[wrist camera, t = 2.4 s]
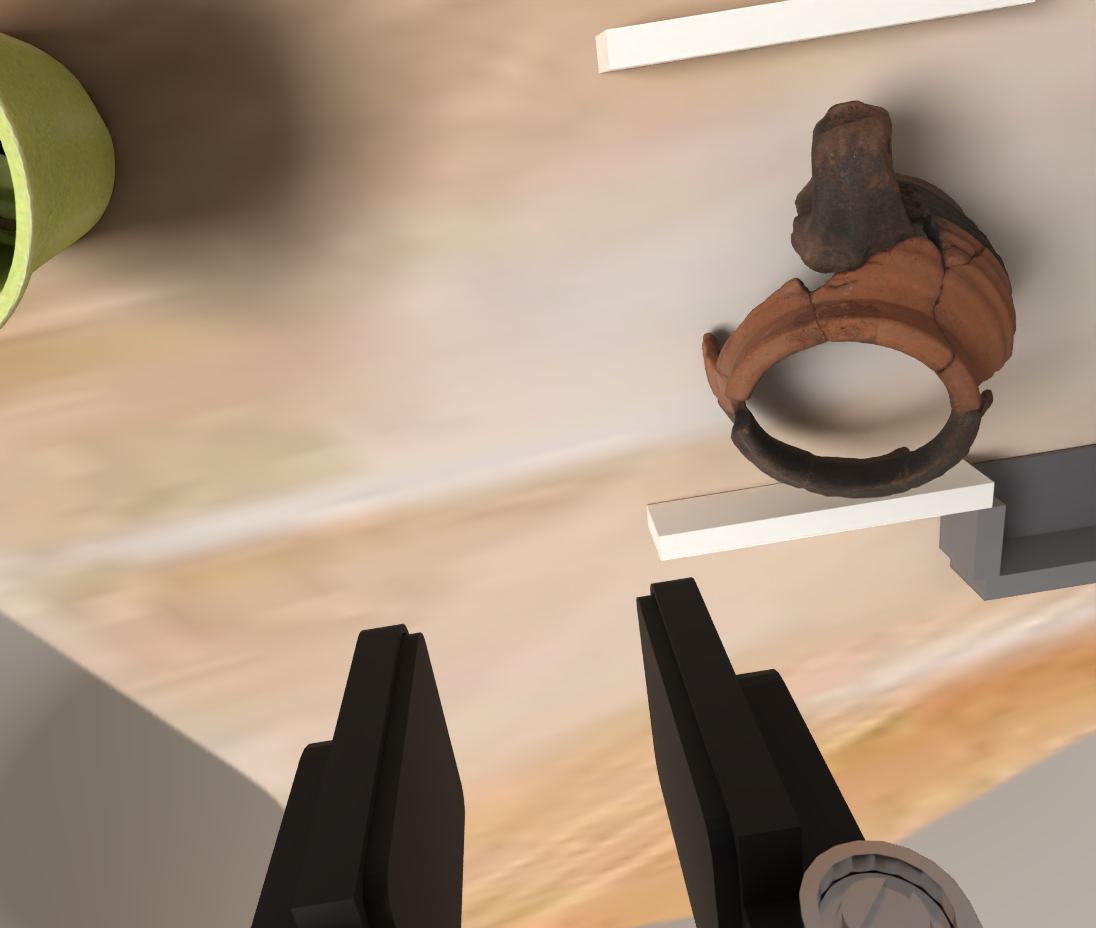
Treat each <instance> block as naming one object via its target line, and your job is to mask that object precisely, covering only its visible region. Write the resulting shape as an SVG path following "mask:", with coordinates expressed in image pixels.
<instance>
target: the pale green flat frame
mask: <svg viewBox="0 0 1096 928" xmlns="http://www.w3.org/2000/svg"><path fill="white" fill-rule="evenodd" d="M1031 2H1035V0H789V1H783V2H776V3H770V4H764V5H758V6H752V7H745V8H739V9H733V10H727V11H720V12H714V13H708V14H702V15H696V16H689V17H683V18H677V19H671V20H664V21H658V22H652V23H646V24H639V25H633V26H627V27H621V28H615V29H608V30H605V31H604V32H602V33H601V34H599V35H598V36H596V37H595V39H596V48H597V57H598V66H599V73H605V72H611V71H617V70H624V69H630V68H636V67H642V66H648V65H655V64H661V63H667V62H673V61H680V60H686V59H692V58H698V57H704V56H711V55H717V54H723V53H729V52H736V51H742V50H748V49H754V48H760V47H767V46H773V45H779V44H785V43H792V42H798V41H804V40H810V39H816V38H823V37H829V36H835V35H841V34H848V33H854V32H860V31H866V30H872V29H879V28H885V27H891V26H897V25H904V24H910V23H916V22H922V21H928V20H935V19H941V18H947V17H953V16H960V15H966V14H972V13H978V12H984V11H990V10H995V9H1000V8H1005V7H1010V6H1016V5H1021V4H1026V3H1031ZM646 506H647V515H648V524H649V529H650V532H651V535H652V537H653V540H654V543H655V545H656V548H657V551H658V553H659V556H660V558H661V561H664V560H670V559H676V558H682V557H688V556H695V555H701V554H707V553H713V552H719V551H726V550H732V549H738V548H744V547H750V546H757V545H763V544H769V543H775V542H781V541H788V540H794V539H800V538H806V537H812V536H819V535H825V534H831V533H837V532H843V531H850V530H856V529H862V528H868V527H874V526H881V525H887V524H893V523H899V522H905V521H912V520H918V519H924V518H930V517H936V516H941V526H940V543H939V548H940V549H941V550H942V551H943V552H944V553H945V554H946V555H947V556H948V557H949V558H950V559H951V563H950V567H951V568H952V569H953V570H954V571H955V572H956V573H957V574H958V575H959V576H960V577H961V578H962V579H963V580H964V581H965V582H966V583H967V584H968V585H969V586H970V587H971V588H972V589H973V590H974V591H975V592H976V593H977V594H978V595H979V596H980V597H981V598H982V599H983V600H984V601H986V600H992V599H999V598H1005V597H1011V596H1017V595H1023V594H1030V593H1036V592H1042V591H1048V590H1054V589H1061V588H1067V587H1073V586H1079V585H1085V584H1092V583H1096V444H1095V445H1089V446H1082V447H1076V448H1070V449H1064V450H1058V451H1051V452H1045V453H1039V454H1033V455H1027V456H1020V457H1014V458H1008V459H1002V460H996V461H989V462H983V463H977V464H971V465H970V464H969V463H967V462H966V461H965V460H963V459H962V460H961V461H960V462H959V463H958V464H957V465H955V466H954V467H953V468H951V469H950V470H948V471H947V472H945V474H944V475H942V476H940V477H938V478H936V479H933V480H932V481H930V482H928V483H926V484H924V485H922V486H920V487H917V488H911V489H910V490H909V491H907V492H904V493H899V494H893V495H891V496H885V497H878V498H858V499H852V498H843V497H826V496H824V495H820V494H816V493H812V492H809V491H807V490H806V489H804V488H795V487H793V486H790V485H787V484H784V483H780V484H774V485H768V486H762V487H756V488H749V489H743V490H737V491H731V492H725V493H718V494H712V495H706V496H700V497H694V498H688V499H681V500H675V501H669V502H663V503H657V504H650V505H646Z"/></svg>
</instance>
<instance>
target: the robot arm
mask: <svg viewBox="0 0 1096 928" xmlns="http://www.w3.org/2000/svg"><path fill="white" fill-rule="evenodd" d="M650 592H651V595H649V596H643V597H637V599H636V601H637V612H638V620H639V628H640V636H641V645H642V653H643V661H644V669H645V677H646V686H647V694H648V702H649V710H650V719H651V727H652V735H653V743H654V751H655V759H656V765H657V770H658V775H659V780H660V784H661V789H662V792H663V796H664V800H665V804H666V808H667V812H668V816H669V820H670V824H671V828H672V832H673V836H674V840H675V844H676V848H677V852H678V856H679V860H680V864H681V868H682V872H683V876H684V880H685V884H686V888H687V891H688V895H689V899H690V903H691V907H692V911H693V915H694V919H695V923H696V927H697V928H983V927H982V925H981V923H980V921H979V919H978V917H977V915H976V913H975V911H974V909H973V907H972V905H971V903H970V901H969V900H968V899H967V897H966V896H965V894H964V893H963V891H962V890H961V888H960V887H959V886H958V884H957V883H956V881H955V880H954V879H953V878H952V877H951V876H950V875H949V874H947V873H946V872H945V871H944V870H943V869H942V868H940V867H939V866H938V865H937V864H936V863H935V862H933V861H932V860H930V859H928V858H926V857H924V856H922V855H920V854H918V853H917V852H915V851H913V850H911V849H909V848H905V847H901V846H898V845H895V844H891V843H887V842H884V841H865V839H864V837H863V835H862V833H861V831H860V829H859V827H858V825H857V823H856V821H855V819H854V817H853V815H852V813H851V811H850V809H849V807H848V805H847V803H846V802H845V800H844V798H843V796H842V794H841V792H840V790H839V788H838V786H837V784H836V782H835V780H834V778H833V776H832V774H831V772H830V770H829V768H828V766H827V764H826V763H825V761H824V759H823V757H822V755H821V753H820V751H819V749H818V747H817V745H816V743H815V741H814V739H813V737H812V735H811V733H810V731H809V729H808V727H807V725H806V724H805V722H804V720H803V718H802V716H801V714H800V712H799V710H798V708H797V706H796V704H795V702H794V700H793V698H792V696H791V694H790V692H789V690H788V688H787V687H786V685H785V683H784V681H783V679H782V677H781V676H780V674H779V673H778V672H777V671H776V670H775V669H770V670H764V671H758V672H752V673H745V674H739V675H736V674H735V672H734V670H733V667H732V665H731V663H730V660H729V658H728V656H727V654H726V651H725V649H724V647H723V644H722V642H721V640H720V637H719V635H718V633H717V630H716V628H715V626H714V624H713V621H712V619H711V617H710V614H709V612H708V610H707V607H706V605H705V603H704V601H703V598H702V596H701V594H700V591H699V589H698V587H697V584H696V582H695V580H694V579H693V578H692V577H690V578H684V579H678V580H672V581H666V582H659V583H653V584H651V586H650ZM464 826H465V806H464V796H463V790H462V785H461V781H460V777H459V773H458V769H457V765H456V761H455V757H454V753H453V749H452V745H451V741H450V737H449V733H448V729H447V725H446V721H445V718H444V714H443V710H442V706H441V702H440V698H439V694H438V690H437V686H436V682H435V678H434V674H433V670H432V666H431V662H430V658H429V654H428V650H427V646H426V642H425V639H424V636H423V634H422V633H421V632H420V633H414V634H409V632H408V630H407V628H406V626H405V625H404V624H399V625H393V626H387V627H381V628H374V629H368V630H362V631H361V632H360V634H359V636H358V640H357V644H356V648H355V652H354V656H353V660H352V664H351V668H350V672H349V676H348V680H347V684H346V688H345V692H344V696H343V700H342V704H341V708H340V712H339V716H338V720H337V724H336V728H335V732H334V736H333V740H331V741H325V742H318V743H312V744H309V745H308V746H307V747H306V748H305V749H304V751H303V753H302V755H301V758H300V761H299V764H298V768H297V771H296V775H295V778H294V782H293V785H292V788H291V792H290V795H289V799H288V802H287V806H286V809H285V812H284V816H283V819H282V823H281V826H280V830H279V833H278V837H277V840H276V844H275V847H274V850H273V854H272V857H271V861H270V864H269V867H268V871H267V874H266V878H265V881H264V885H263V888H262V892H261V895H260V899H259V902H258V905H257V909H256V912H255V916H254V919H253V923H252V926H251V928H461V912H462V884H463V855H464Z"/></svg>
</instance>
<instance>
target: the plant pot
mask: <svg viewBox="0 0 1096 928" xmlns="http://www.w3.org/2000/svg"><path fill="white" fill-rule="evenodd" d="M0 140H1V143H2V146H3V149H4V151H5V154H6V156H5V155H2V154H1V153H0V216H1V217H4V218H7V219H12V220H16V231H8V230H4V229H1V228H0V329H1V328H2V327H3V326H4V325H5V323H6V322H7V321H8V319H9V318H10V317H11V315H12V314H13V312H14V311H15V309H16V307H17V306H18V304H19V302H20V301H21V299H22V297H23V295H24V293H25V290H26V288H27V286H28V283H29V280H30V277H31V275H32V273H33V272H34V271H35V270H36V269H38V268H39V267H40V266H42V265H43V264H44V263H46V262H47V261H48V260H50V259H51V258H53V257H54V256H55V255H57V254H58V253H60V252H61V251H63V250H64V249H65V248H67V247H68V246H70V245H71V244H73V243H74V242H75V241H77V240H78V239H79V238H81V237H82V236H83V235H84V234H86V233H87V232H88V231H89V230H90V229H91V228H92V227H93V226H94V225H95V224H96V223H97V222H98V221H99V219H100V218H101V216H102V215H103V213H104V211H105V210H106V208H107V205H108V203H109V201H110V199H111V195H112V191H113V187H114V180H115V154H114V148H113V143H112V139H111V136H110V133H109V130H108V129H107V127H106V125H105V123H104V122H103V120H102V118H101V116H100V115H99V113H98V111H97V109H96V108H95V106H94V104H93V102H92V101H91V99H90V97H89V96H88V94H87V93H86V91H85V90H84V88H83V86H82V85H81V83H80V82H79V81H78V79H77V78H76V77H75V76H74V75H73V74H72V73H71V72H70V71H69V70H68V69H67V68H65V67H64V66H63V65H62V64H61V63H60V62H58V61H57V60H55V59H54V58H53V57H51V56H50V55H48V54H47V53H45V52H43V51H42V50H40V49H38V48H36V47H34V46H33V45H30V44H28V43H26V42H24V41H21V40H18V39H16V38H13V37H11V36H8V35H6V34H3V33H1V32H0Z"/></svg>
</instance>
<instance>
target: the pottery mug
mask: <svg viewBox="0 0 1096 928" xmlns="http://www.w3.org/2000/svg"><path fill="white" fill-rule="evenodd" d="M891 132H892V124H891V119H890V116H889V113H888V112H887V111H886V110H885V109H884V108H882V107H878V106H873V105H868V104H864V103H863V102H860V101H849V102H845V103H840V104H836V105H834V106H832V107H831V108H830V109H829V110H828V112H827V113H826V115H825V116H824V118H822V119H821V120H820V121H819V122H818V123H817V124H816V126H815V128H814V130H813V142H812V151H811V157H812V178H811V180H810V181H809V182H808V184H807V185H806V186H805V187H804V188H803V189H802V191H801V192H800V193H799V194H798V195H797V198H796V200H795V204H796V208H797V213H798V216H797V217H795V218H794V222H793V233H792V234H791V243H792V246H793V248H794V250H795V251H796V252H797V253H798V254H799V255H800V257H801V259H802V261H803V262H804V264H805V265H807V266H808V267H809V268H810V269H812V270H814V271H817V272H820V273H834V275H833V277H832V278H831V279H830V280H828V281H827V283H826V284H825V285H824V286H822V287H820V288H818V289H817V290H815V291H813V292H811V291H809V290H808V288H807V287H805V286H804V283H803V282H802V281H801V280H800V279H798V278H793V279H792V280H790V281H788V282H786V283H785V284H784V285H783V286H782V287H781V288H780V289H778V290H777V291H775V292H774V293H773V294H772V295H770V296H769V297H768V298H767V299H766V300H765V301H764V302H763V303H761V304H760V305H758V306H757V307H756V308H754V309H753V310H752V311H751V312H750V313H749V314H748V316H747V317H746V318H745V320H744V321H743V322H742V323H741V324H740V325H739V327H738V328H737V329H736V330H735V331H734V332H733V333H732V335H731V336H730V337H729V338H728V339H727V341H726V342H725V344H724V346H723V348H722V350H721V351H720V349H719V345H718V343H717V339H716V338H715V336H714V335H713V334H712V333H706V334H704V336H703V343H702V350H703V357H704V363H705V370H706V374H707V378H708V382H709V384H710V387H711V389H712V391H713V394H714V395H715V396H716V397H717V398H718V403H719V405H720V407H721V408H722V409H723V410H724V412H725V413H726V414H727V416H728V417H729V418H730V420H731V421H732V422H733V423H734V426H733V428H732V434H731V439H732V441H733V443H734V445H735V446H736V447H737V448H738V449H739V450H740V452H741V453H742V454H743V455H744V456H745V457H746V458H747V459H748V460H749V461H751V462H752V463H753V464H754V465H755V466H756V467H758V468H759V469H760V470H761V471H762V472H764V473H766V474H767V475H769V476H770V477H772V478H774V479H775V480H777V481H779V482H782V483H784V484H787V485H790V486H793V487H795V488H804V489H806V490H807V491H809V492H812V493H816V494H820V495H824V496H826V497H843V498H852V499H858V498H878V497H885V496H891V495H893V494H899V493H904V492H907V491H909V490H910V489H911V488H917V487H920V486H922V485H924V484H926V483H928V482H930V481H932V480H933V479H936V478H938V477H940V476H942V475H944V474H945V472H947V471H948V470H950V469H951V468H953V467H954V466H955V465H957V464H958V463H959V462H960V461H961V460H962V459H963V457H964V456H966V455H967V454H968V453H969V449H970V447H971V446H972V444H973V442H974V440H975V438H976V436H977V433H978V430H979V426H980V422H981V417H982V416H983V415H984V414H985V412H986V411H987V409H988V408H989V407H990V406H991V404H992V402H993V395H992V391H991V390H988V389H987V390H985V391H983V392H982V394H981V395H980V392H979V388H978V386H979V385H980V384H981V383H982V382H983V381H986V380H988V379H989V378H991V377H992V376H993V375H994V373H995V372H996V371H998V370H1000V369H1001V368H1002V367H1003V366H1004V364H1005V362H1006V361H1007V360H1008V359H1009V358H1010V357H1011V355H1012V350H1013V341H1014V334H1015V331H1016V314H1015V309H1014V304H1013V299H1012V296H1011V294H1012V289H1011V284H1010V280H1009V277H1008V274H1007V272H1006V269H1005V267H1004V263H1003V261H1002V259H1001V257H1000V256H999V255H998V254H997V253H996V251H995V250H994V248H993V247H992V245H991V243H990V242H989V240H988V239H987V237H986V236H985V235H984V234H983V233H982V231H980V230H979V229H978V228H977V226H976V225H975V224H974V222H973V221H972V220H970V219H969V218H968V217H967V216H966V215H965V214H964V212H963V211H962V209H961V208H960V207H959V206H958V204H956V202H955V201H954V200H953V199H951V198H950V197H949V196H948V195H947V194H945V193H944V192H943V191H941V190H940V189H938V188H937V187H935V186H933V185H932V184H930V183H928V182H926V181H923V180H921V179H918V178H914V177H908V176H905V175H900V174H894V171H893V165H892V152H891ZM915 223H918V224H919V225H921V226H923V230H924V232H925V233H926V235H927V237H928V238H926V237H925V236H922V235H918V234H916V233H915V230H914V225H913V224H915ZM827 341H833V342H845V341H849V342H861V343H870V344H876V345H880V346H884V347H888V348H892V349H895V350H898V351H901V352H903V353H905V354H907V355H909V356H912V357H914V358H916V359H917V360H919V361H921V362H922V363H924V364H925V365H927V366H928V367H929V368H930V369H932V370H933V371H935V373H936V374H937V375H938V377H939V378H940V379H941V381H942V382H943V383H944V385H945V386H946V388H947V390H948V393H949V397H950V403H951V407H952V410H951V415H950V417H949V419H948V421H947V423H946V425H945V426H944V428H943V429H942V430H941V431H940V433H939V434H938V435H937V436H936V437H935V438H934V439H933V440H931V441H930V442H929V443H927V444H926V445H924V446H922V447H920V448H918V449H917V450H915V451H911V452H910V451H909V449H908V448H907V447H902V448H898V449H896V450H894V451H893V452H891V453H889V454H886V455H883V456H878V457H871V458H866V459H857V458H840V457H820V456H816V455H813V454H812V453H810V452H808V451H805V450H802V449H799V448H797V447H794V446H791V445H788V444H786V443H783V442H781V441H779V440H777V439H775V438H773V437H771V436H770V435H769V434H767V433H766V432H765V431H764V430H763V429H762V428H761V427H760V425H759V424H758V422H757V421H756V420H755V418H754V416H753V414H752V413H751V412H750V410H749V409H748V408H747V407H746V404H745V401H746V400H748V399H749V398H750V397H751V394H752V392H753V390H754V388H755V386H756V384H757V383H758V381H759V380H760V378H761V377H762V376H763V374H764V373H765V372H766V371H767V370H768V369H769V368H770V367H771V366H773V365H774V364H776V363H777V362H779V361H780V360H782V359H784V358H785V357H787V356H789V355H791V354H794V353H796V352H798V351H801V350H805V349H807V348H810V347H813V346H816V345H818V344H822V343H825V342H827Z"/></svg>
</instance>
